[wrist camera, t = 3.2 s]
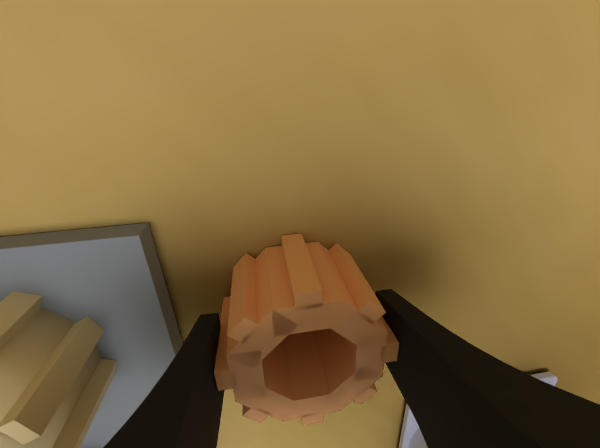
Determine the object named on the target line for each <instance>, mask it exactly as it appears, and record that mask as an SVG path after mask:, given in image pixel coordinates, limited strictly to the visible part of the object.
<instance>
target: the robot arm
mask: <svg viewBox="0 0 600 448" xmlns="http://www.w3.org/2000/svg"><path fill="white" fill-rule="evenodd" d="M376 297H377V299H378V300H379V302H380V303H381V305H382V307H383V308H384V310H385V311H386V313H385V314H384V315H382V317H383V318H384V320H385V322H386V323H387V325H388V326H389V327H390V329H391V330H392V332H393V334H394V335H395V337H396V339H397V340H398V342H399V349H398V356H397V361H392V362H387V363H386V365H387V366H388V368H389V370H390V372H391V374H392V376H393V378H394V380H395V382H396V384H397V385H398V387H399V389H400V391H401V393H402V395H403V397H404V399H405V400H406V402H407V404H406V409H405V414H404V420H403V426H402V431H401V437H400V443H399V448H600V405H599V404H597V403H594V402H591V401H589V400H586V399H584V398H581V397H579V396H576V395H574V394H572V393H569V392H567V391H564V390H562V389H559V388H557V387H555V385H556V383H557V380H558V378H557V377H556V376H555V375H554V374H553V373H552V372H543V373H538V374H532V375H529V374H526V373H524V372H522V371H520V370H518V369H516V368H514V367H512V366H510V365H508V364H506V363H504V362H502V361H500V360H498V359H497V358H495V357H493V356H491V355H489V354H487V353H486V352H484V351H482V350H480V349H478V348H477V347H475V346H473V345H472V344H470V343H468V342H467V341H465V340H463V339H462V338H460V337H459V336H457V335H456V334H454V333H452V332H451V331H449V330H448V329H446V328H445V327H443V326H442V325H440V324H439V323H437V322H436V321H434V320H433V319H432V318H430V317H429V316H427V315H426V314H424V313H423V312H422V311H420V310H419V309H418V308H416V307H415V306H413V305H412V304H411V303H409V302H408V301H407V300H405V299H404V298H403V297H401V296H400V295H398V294H397V293H396V292H394V291H393V290H391V289H388V290H381V291H376ZM220 327H221V325H220V320H219V315H218V313H212V314H205V315H200V317H199V318H198V319H197V321H196V323H195V325H194V326H193V328H192V330H191V332H190V333H189V335H188V337H187V338H186V340H185V342H184V343H183V345H182V346H181V348H180V350H179V351H178V353H177V354H176V356H175V357H174V359H173V360H172V362H171V363H170V365H169V366H168V368H167V369H166V371H165V372H164V373H163V375H162V376H161V378H160V379H159V380H158V382H157V383H156V384H155V386H154V387H153V389H152V390H151V391H150V393H149V394H148V395H147V397H146V398H145V399H144V400H143V402H142V403H141V404H140V406H139V407H138V408H137V409H136V410H135V412H134V413H133V414H132V415H131V417H130V418H129V419H128V420H127V421H126V423H125V424H124V425H123V426H122V427H121V428H120V429H119V431H118V432H117V433H116V434H115V435H114V436H113V437H112V438H111V440H110V441H109V442H108V443H107V444H106V445H105V446H104V447H103V448H216V447H217V440H218V432H219V425H220V418H221V411H222V404H223V396H224V390H221V391H218V388H217V384H216V379H215V375H214V370H215V362H216V354H217V350H218V344H219V335H220Z"/></svg>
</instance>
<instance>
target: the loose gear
mask: <svg viewBox="0 0 600 448" xmlns="http://www.w3.org/2000/svg"><path fill="white" fill-rule="evenodd" d="M281 242H282V246H274V247H265V249H264V250H263V251H262V252H261V253H260V254H259V255H258V256H257V257H256V258H253V257H252V256H250V255H249V254H247V253H245V254H244V255H243V256H242V258H241V259H240V260H239V261H238V262H237V263H236V264H235V265H234V266H233V274H232V285H231V296H229V297H223V305H222V313H221V321H220V325H221V327H220V335H219V344H218V350H217V354H216V362H215V370H214V375H215V379H216V384H217V388H218V391H221V390H227V389H233V392H234V397H235V402H238V403H240V404H242V405H243V416H244V417H247V418H249V419H252V420H254V421H257V422H259V423H262V422H263V421H264V420H265V419H266V418H267V417H269V416H272V417H274V418H276V419H279V420H281V421H288V420H293V419H299V418H301V424H302V426H304V425H309V424H314V423H319V422H323V414H326V413H331V412H336V411H341V410H342V409H343V408H344V407H346V406H347V405H348V404H349V403H350V402H352V401H353V400H354V401H355V402H357V403H359V404H363V403H364V402H365V401H366V400H367V399H369V398H370V397H371V396H372V395H374V394H375V393H376V392H377V389H376V387H375V385H374V383H375V382H376V381H377V380H378V379H380V378H381V377H382V376H383V369H384V363H387V362H392V361H397V356H398V349H399V342H398V340H397V339H396V337H395V335H394V334H393V332H392V330H391V329H390V327H389V326H388V325H387V323H386V322H385V320H384V318H383V317H382V315H384V314H385V313H386V311H385V310H384V308H383V307H382V305H381V303H380V302H379V300H378V299H377V297H376V295H375V294H374V292H373V290H372V289H371V287H370V286H369V284H368V282H367V281H366V279H365V277H364V276H363V274H362V273H361V271H360V269H359V268H358V266H357V264H356V263H355V261H354V260H353V258H352V256H351V255H350V253H349V252H348V251H346V250H345V249H344V248H343V247H341V246H340V245H339V244H338V243H335V244H334V245H333V246H332V247H331V248H330V249H329V250H328V249H326V248H325V247H324V246H323V245H321V244H320V243H319V242H310V243H305V241H304V239H303V236H302V233H299V234H290V235H281Z"/></svg>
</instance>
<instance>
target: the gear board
mask: <svg viewBox="0 0 600 448" xmlns="http://www.w3.org/2000/svg"><path fill="white" fill-rule="evenodd" d="M182 345H183V343H182V339H181V336H180V332H179V329H178V325H177V322H176V318H175V315H174V311H173V308H172V304H171V301H170V297H169V294H168V290H167V286H166V283H165V279H164V276H163V272H162V269H161V265H160V262H159V258H158V255H157V251H156V248H155V244H154V241H153V237H152V234H151V230H150V226H149V223H140V224H129V225H119V226H108V227H98V228H88V229H77V230H67V231H56V232H46V233H35V234H25V235H14V236H4V237H0V448H103V447H104V446H105V445H106V444H107V443H108V442H109V441H110V440H111V438H112V437H113V436H114V435H115V434H116V433H117V432H118V431H119V429H120V428H121V427H122V426H123V425H124V424H125V423H126V421H127V420H128V419H129V418H130V417H131V415H132V414H133V413H134V412H135V410H136V409H137V408H138V407H139V406H140V404H141V403H142V402H143V400H144V399H145V398H146V397H147V395H148V394H149V393H150V391H151V390H152V389H153V387H154V386H155V384H156V383H157V382H158V380H159V379H160V378H161V376H162V375H163V373H164V372H165V371H166V369H167V368H168V366H169V365H170V363H171V362H172V360H173V359H174V357H175V356H176V354H177V353H178V351H179V350H180V348H181V346H182Z"/></svg>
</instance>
